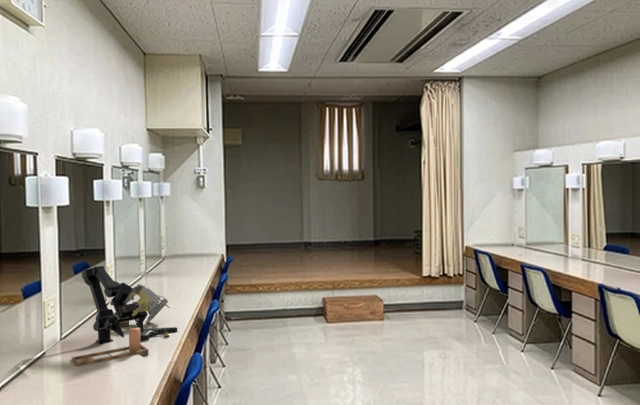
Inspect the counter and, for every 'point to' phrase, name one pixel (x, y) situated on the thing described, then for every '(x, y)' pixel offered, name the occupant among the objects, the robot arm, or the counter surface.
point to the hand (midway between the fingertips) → (133, 334)
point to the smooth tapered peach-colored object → (134, 339)
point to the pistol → (155, 332)
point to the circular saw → (146, 302)
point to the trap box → (88, 358)
